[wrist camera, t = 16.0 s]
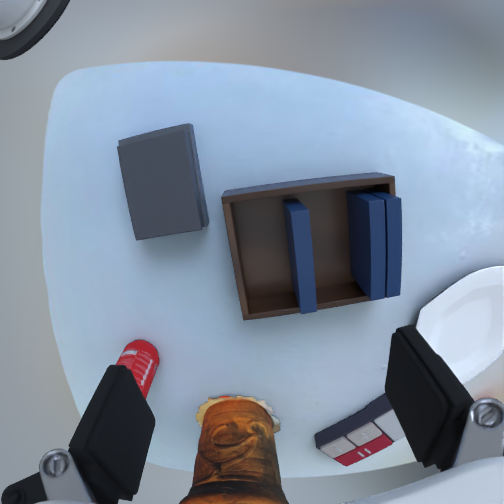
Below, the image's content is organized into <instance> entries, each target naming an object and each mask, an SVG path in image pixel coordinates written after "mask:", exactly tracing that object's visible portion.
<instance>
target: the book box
mask: <svg viewBox="0 0 504 504" xmlns="http://www.w3.org/2000/svg"><path fill="white" fill-rule="evenodd" d="M371 188H374V189H377V190H380V191H383V192H385V193H388V194H391V195H394V196H396V193H395V176H392V175H387V174H383V173H378V172H376V173H364V174H353V175H343V176H333V177H324V178H315V179H306V180H298V181H290V182H282V183H275V184H267V185H260V186H253V187H247V188H240V189H233V190H227V191H225V192H224V194H223V195H222V197H221V199H222V204H223V210H224V216H225V222H226V228H227V233H228V239H229V245H230V250H231V256H232V261H233V267H234V272H235V278H236V283H237V289H238V294H239V300H240V305H241V310H242V315H243V320H244V321H245V320H252V319H260V318H267V317H275V316H282V315H288V314H295V313H301V312H300V309H299V305H298V302H297V299H296V295H295V292H294V289H293V285H292V278H291V269H290V260H289V251H288V243H287V234H286V226H285V218H284V210H283V202H282V200H284V199H292V198H297V199H298V200H299V201H300V202H301V203H302V204H303V205H304V206H305V207H306V208H307V209H308V210H309V218H310V228H311V238H312V249H313V261H314V273H315V287H316V302H317V310H320V309H326V308H332V307H338V306H343V305H349V304H354V303H360V302H365V301H370V299H369V298H368V297H367V295H366V294H365V293H364V291H363V290H362V289H361V287H360V286H359V285H358V283H357V282H356V281H355V279H354V278H353V277H352V275H351V264H350V241H349V223H348V209H347V197H346V191H352V190H360V191H361V190H362V189H371ZM385 297H386V296H385Z"/></svg>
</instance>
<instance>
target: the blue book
mask: <svg viewBox="0 0 504 504" xmlns="http://www.w3.org/2000/svg"><path fill="white" fill-rule="evenodd" d="M282 202H283V210H284V218H285V226H286V234H287V243H288V251H289V260H290V269H291V278H292V285H293V289H294V292H295V295H296V299H297V302H298V305H299V309H300V312H301V314H305V313H311V312H317V302H316V287H315V273H314V261H313V249H312V238H311V228H310V218H309V210H308V209H307V208H306V207H305V206H304V205H303V204H302V203H301V202H300V201H299V200H298V199H297V198H292V199H284V200H282Z"/></svg>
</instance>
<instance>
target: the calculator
mask: <svg viewBox="0 0 504 504" xmlns="http://www.w3.org/2000/svg"><path fill="white" fill-rule="evenodd" d="M404 436H405V434H404V431H403V429H402V427H401V425H400V423H399V421H398V419H397V417H396V415H395V412H394V410H393V408H392V406H391V404H390V402H389V400H388V398H387V396H386V393H385V394H384V395H382V396H381V397H379V398H377V399H376V400H374V401H372V402H370V403H369V405H368V406H367V407H366V408H365V409H363V410H362V411H360V412H358V413H356V414H354V415H353V416H351V417H349V418H347V419H345V420H343V421H341V422H339V423H337V424H335V425H333V426H331V427H329V428H327V429H325V430H323V431H321V432H319V433H317V434H315V442H316V448H317V449H319V450H320V451H322V452H323V453H325V454H327V455H328V456H330V457H331V458H333V459H334V460H336V461H338V462H339V463H341V464H343V465H345V466H349V465H351V464H353V463H356V462H358V461H360V460H362V459H364V458H366V457H368V456H370V455H372V454H374V453H376V452H378V451H380V450H382V449H384V448H386V447H388V446H390V445H392V444H393V442H395V441H397V440H399V439H401V438H403V437H404Z"/></svg>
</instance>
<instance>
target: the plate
mask: <svg viewBox="0 0 504 504" xmlns="http://www.w3.org/2000/svg"><path fill="white" fill-rule="evenodd" d="M416 329H417V330H418V332H419V333H420V334H421V335H422V336H423V338H424V339H425V340H426V341H427V343H428V344H429V345H430V347H431V348H432V349H433V350H434V352H435V353H436V354H439V355H440V356H441V357H442V359H443V360H444V361H445V362H446V364H447V365H448V366H449V368H450V369H451V370H452V372H453V373H454V374H455V375H456V377H457V378H458V379H459V381H460V382H461V383H462V384H464V383H466V382H468V381H469V380H471V379H472V378H474V377H475V376H476V375H478V374H479V373H481V372H482V371H483V370H484V369H486V368H487V367H488V366H489V365H490V364H491V363H493V362H494V361H495V360H496V359H497V358H498V357H499V356H500V355H501V354H502V351H503V349H504V266H494V267H488V268H484V269H480V270H478V271H475V272H472V273H470V274H469V275H467V276H465V277H463V278H461V279H460V280H458V281H457V282H455V283H454V284H452V285H451V286H450V287H448V288H447V289H445V290H444V291H443V292H442V293H440V294H439V295H438V296H436V297H435V298H434V299H432V300H431V301H430V302H429V303H427V304H426V305H425V306H423V307H422V308H421V309H420V312H419V316H418V320H417V324H416Z"/></svg>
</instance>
